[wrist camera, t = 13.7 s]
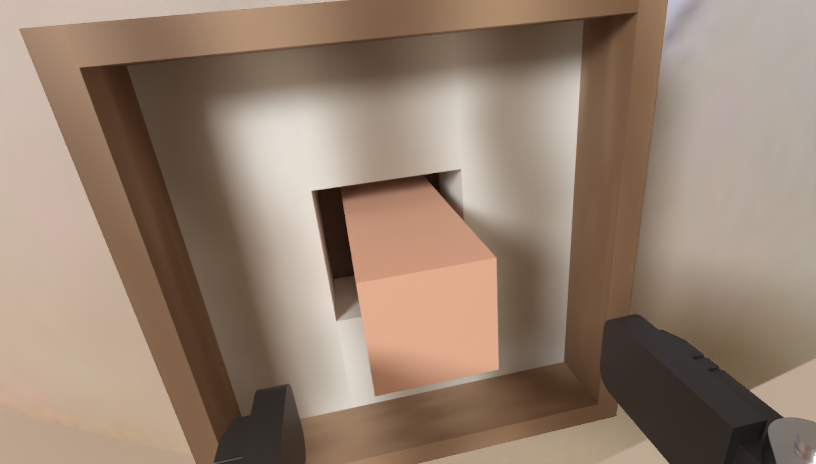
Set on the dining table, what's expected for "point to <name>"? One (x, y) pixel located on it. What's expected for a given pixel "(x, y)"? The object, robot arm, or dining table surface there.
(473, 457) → the dining table surface
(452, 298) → the peg
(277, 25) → the bore box
